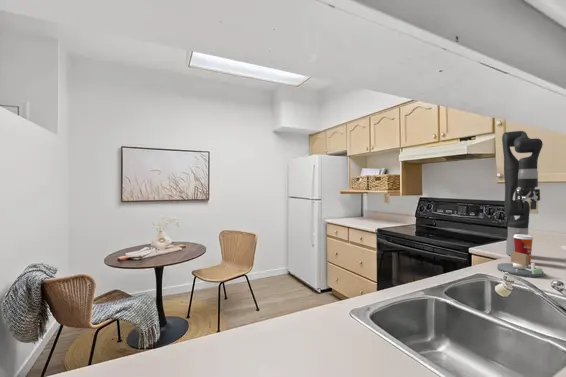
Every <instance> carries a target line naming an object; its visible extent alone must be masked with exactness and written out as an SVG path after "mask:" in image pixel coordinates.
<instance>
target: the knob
mask: <svg viewBox="0 0 566 377" xmlns="http://www.w3.org/2000/svg"><path fill="white" fill-rule="evenodd" d="M510 263H512V264H513V267H514V268H517V269H525V270H529V271H532V269H535V268H536V267H535V266H536V263H535V262H530V264H529V255H526V254H522V253H518V252H511V256H510ZM526 266H530V267H531V269H528V268H526Z"/></svg>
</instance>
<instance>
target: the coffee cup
mask: <svg viewBox="0 0 566 377" xmlns="http://www.w3.org/2000/svg"><path fill="white" fill-rule="evenodd" d="M513 237H514V246H515V252H518V253H522V254H526V255H529V265H531V261H532V260H531V259H532V250H533V249H532V248H533V240H534V237H533V236H532V235H530V234H528V235H524V234H515V235H514V236H513Z"/></svg>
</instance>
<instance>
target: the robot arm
mask: <svg viewBox="0 0 566 377" xmlns="http://www.w3.org/2000/svg"><path fill="white" fill-rule="evenodd" d="M501 137H502V139H501V142H502V152H503V177H504V212H505V215H507V216H510V217H511V216H512V217H513V216H514V217H515V216H516V217H518V218H516V219H514V220H510V221H508V222H507V238H506V245H505V246H506V247H505V248H506V253H507V254H508V255H507V254H506V255H507V256H509V255H510V256H509V257H511V252H515V246H514V237H513V236H514V235H515V234H524V235H529V224H530V213H531V212H530V211H531V210H537V203H538V202H539V201H541V190H540V189H539V188H538V186H539V171H538V159H539V157H540V153H541V151H542V148H543V146H544V144H543V141H542V140H541V139H540V138H537V137H536V138H530V137H529V136H528V134H527V132H526V131H524V130H516V131H505V132H504V133H503V134H502V136H501ZM513 147H514V151H515V152H516V153H518V154H529V153H530V154H531V155H530V156H527V157H521V158H519V160H518V158H517V157H516V156H515V155H514V153H513V152H512V150H511V148H513ZM518 188H519V189H518ZM527 199H529V200H530V201H528V200H527ZM529 202H530V203H529Z"/></svg>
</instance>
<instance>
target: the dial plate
mask: <svg viewBox="0 0 566 377" xmlns="http://www.w3.org/2000/svg"><path fill="white" fill-rule="evenodd" d="M496 268H497V270H498V271H500V272H502V271H503V272H502V273H505V272H508V273H509V274H510V273H511V274H510V275H513V274H514V275H513V276H517V277H522V278H523V277H524V278H535V279H536V278H542V277H544V271H543V268H541V267H539V268H537V267H535V269H532V271H529V270H525V269H517V268H514V267H513V262H510V263H508V262H505V263H503V262H502V263H498V264H497V267H496ZM526 268H528V269H531V265H529V266H526ZM508 273H507V274H508ZM509 274H508V275H509Z"/></svg>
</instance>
